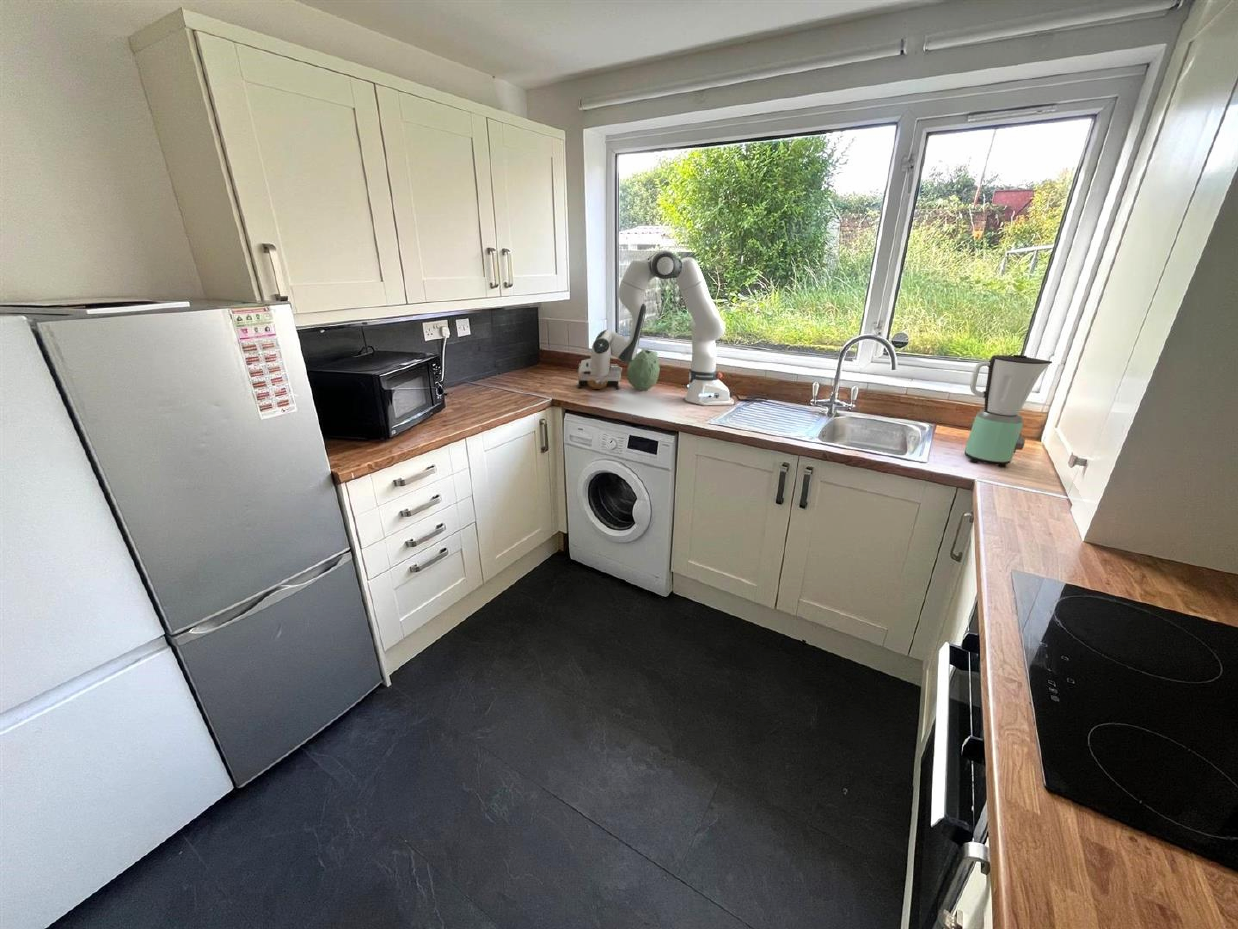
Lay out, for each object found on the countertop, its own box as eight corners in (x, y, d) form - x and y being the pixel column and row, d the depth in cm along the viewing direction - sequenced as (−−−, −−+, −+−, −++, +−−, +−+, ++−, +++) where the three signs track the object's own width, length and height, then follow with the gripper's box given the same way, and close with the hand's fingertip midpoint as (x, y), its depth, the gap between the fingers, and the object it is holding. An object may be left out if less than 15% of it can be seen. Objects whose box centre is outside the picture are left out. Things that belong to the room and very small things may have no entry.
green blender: (1011, 459, 170) (1046, 355, 157) (1021, 472, 158) (1060, 361, 145) (946, 449, 177) (975, 349, 164) (951, 461, 166) (983, 355, 153)
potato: (611, 386, 253) (611, 371, 250) (603, 392, 240) (603, 375, 237) (593, 385, 255) (593, 369, 252) (584, 390, 242) (584, 374, 240)
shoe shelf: (617, 385, 257) (617, 364, 253) (618, 389, 248) (619, 367, 244) (578, 384, 255) (578, 363, 251) (578, 388, 247) (578, 366, 243)
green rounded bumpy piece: (620, 391, 244) (621, 350, 237) (635, 384, 260) (637, 345, 253) (649, 395, 238) (652, 353, 231) (663, 388, 254) (666, 348, 247)
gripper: (622, 361, 229) (620, 378, 241) (578, 360, 227) (578, 377, 240) (622, 372, 226) (620, 389, 239) (577, 371, 225) (578, 388, 238)
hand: (599, 383), depth 240 cm, fingers closed
